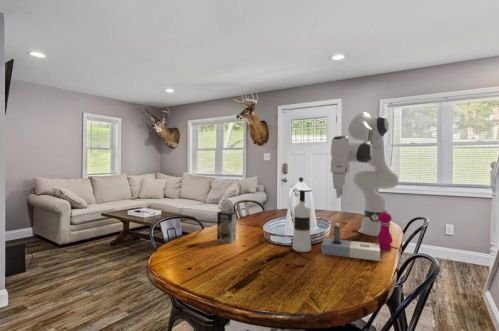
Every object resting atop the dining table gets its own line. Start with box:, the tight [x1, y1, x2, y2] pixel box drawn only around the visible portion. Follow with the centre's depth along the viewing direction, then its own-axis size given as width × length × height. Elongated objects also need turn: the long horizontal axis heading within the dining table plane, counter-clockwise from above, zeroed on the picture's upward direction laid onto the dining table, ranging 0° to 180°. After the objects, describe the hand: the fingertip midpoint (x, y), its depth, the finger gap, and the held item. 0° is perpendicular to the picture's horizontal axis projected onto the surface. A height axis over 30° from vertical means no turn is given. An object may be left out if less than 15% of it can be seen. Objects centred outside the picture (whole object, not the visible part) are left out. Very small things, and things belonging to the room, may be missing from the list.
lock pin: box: [332, 222, 341, 244], centre depth 142 cm, size 3×3×14 cm
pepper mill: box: [376, 209, 393, 251], centre depth 148 cm, size 7×7×20 cm
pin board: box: [321, 237, 381, 262], centre depth 139 cm, size 12×26×4 cm, turn 68°
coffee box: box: [216, 210, 237, 244], centre depth 159 cm, size 9×6×16 cm
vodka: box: [292, 190, 312, 253], centre depth 144 cm, size 9×9×30 cm
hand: (339, 196), depth 142 cm, fingers open, 8 cm apart
